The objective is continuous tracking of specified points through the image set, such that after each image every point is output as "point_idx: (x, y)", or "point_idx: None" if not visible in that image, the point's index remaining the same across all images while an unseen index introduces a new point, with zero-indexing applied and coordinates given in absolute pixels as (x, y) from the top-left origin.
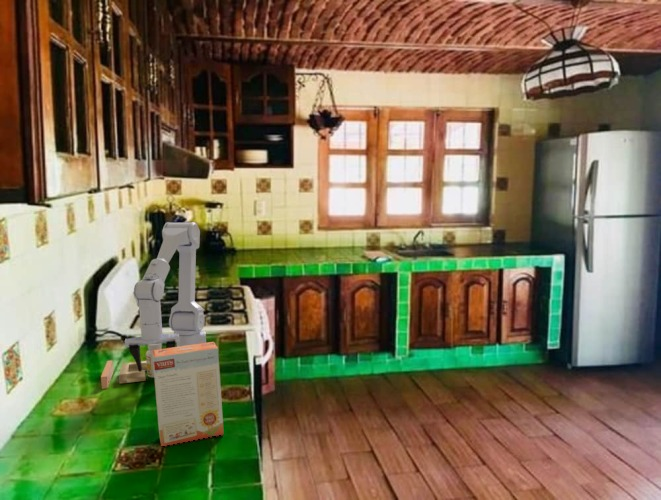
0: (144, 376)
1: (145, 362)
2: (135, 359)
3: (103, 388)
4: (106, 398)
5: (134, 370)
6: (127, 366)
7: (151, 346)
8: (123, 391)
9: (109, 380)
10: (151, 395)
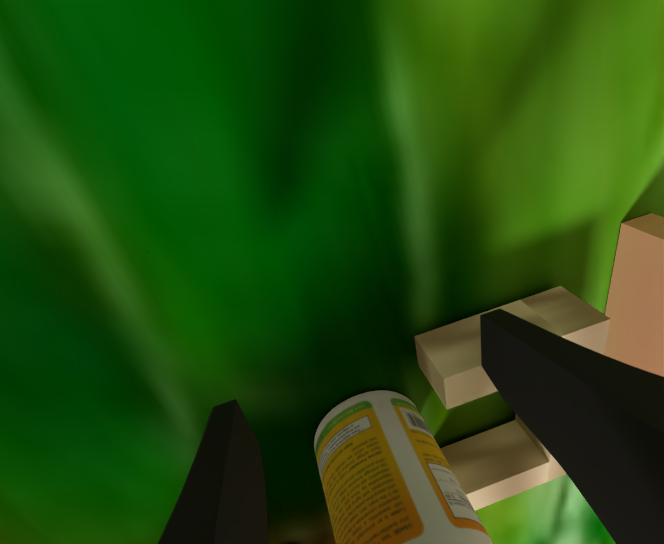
0: (430, 354)
1: None
2: (653, 377)
3: (645, 216)
4: (640, 24)
5: (498, 437)
6: None
7: None
8: (528, 168)
9: (617, 312)
10: (290, 58)
